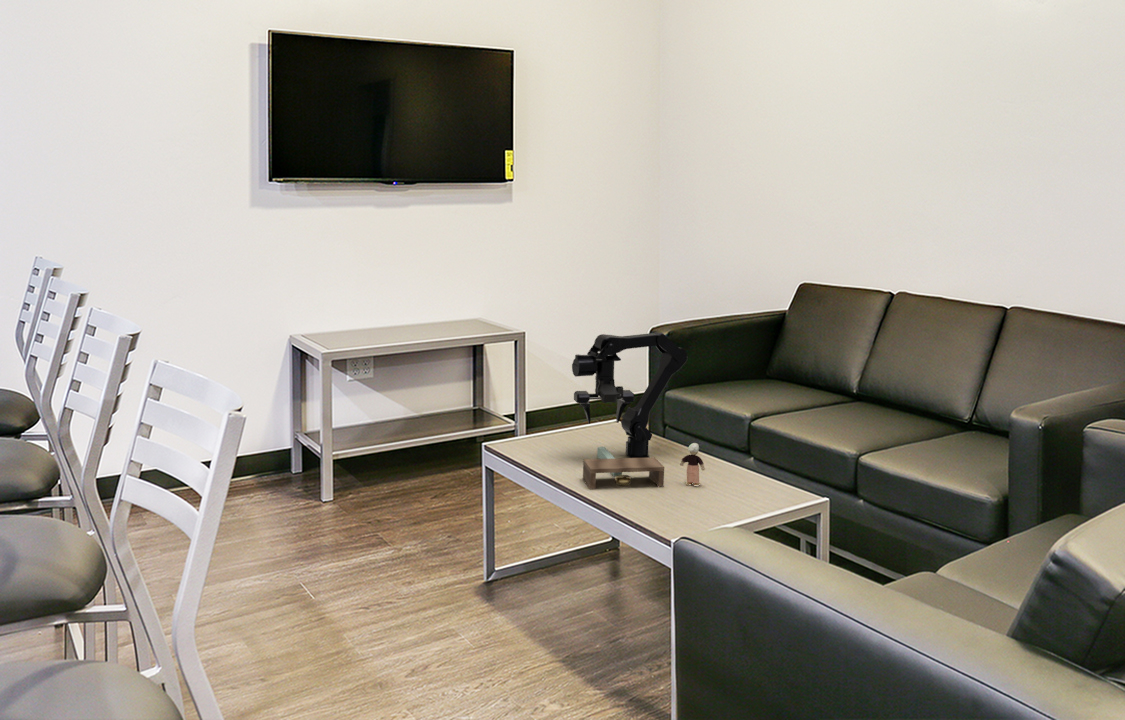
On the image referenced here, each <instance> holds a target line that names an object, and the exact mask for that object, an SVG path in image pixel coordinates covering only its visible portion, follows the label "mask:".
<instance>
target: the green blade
mask: <svg viewBox="0 0 1125 720" xmlns="http://www.w3.org/2000/svg"><path fill="white" fill-rule="evenodd" d="M596 450H597V451H596V452H597V454H596V456H597V459H616V458H615V457H614V455H613V454H611V452H610V451H609V450H608V449H607V447H606V446H597V449H596ZM610 474H611V475H612V476H613V477H614V478H615V476H617V475H623V472H616V473H610Z"/></svg>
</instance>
